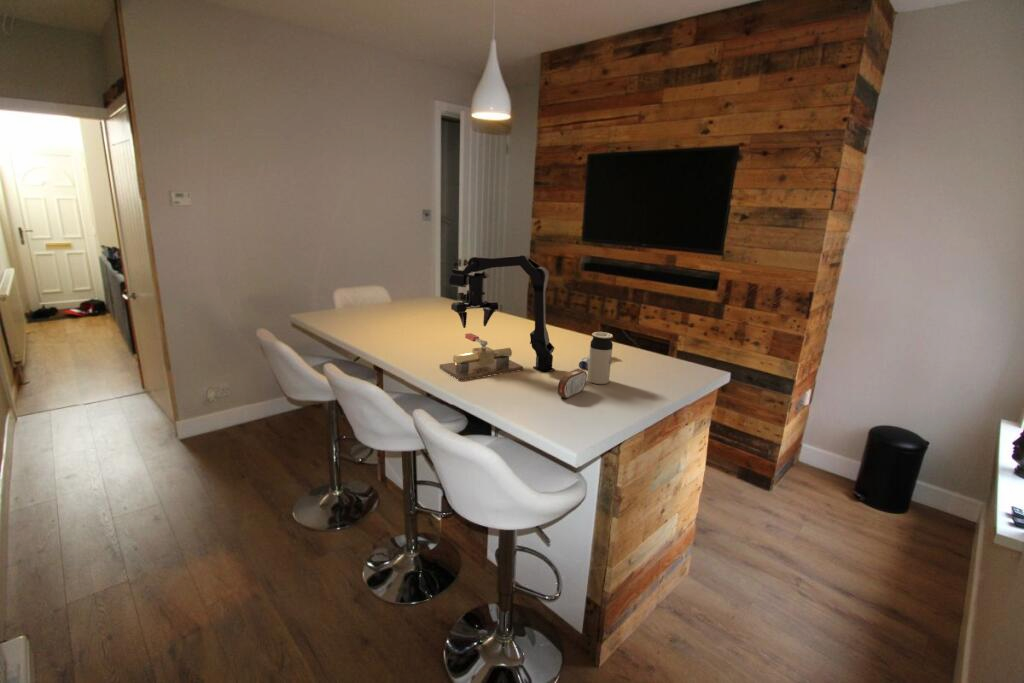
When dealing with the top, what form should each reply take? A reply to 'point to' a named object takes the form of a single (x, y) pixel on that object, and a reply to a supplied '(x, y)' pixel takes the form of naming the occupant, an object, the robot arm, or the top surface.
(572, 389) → the tin
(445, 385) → the top surface
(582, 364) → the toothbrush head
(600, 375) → the travel mug
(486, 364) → the valve
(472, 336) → the lever
